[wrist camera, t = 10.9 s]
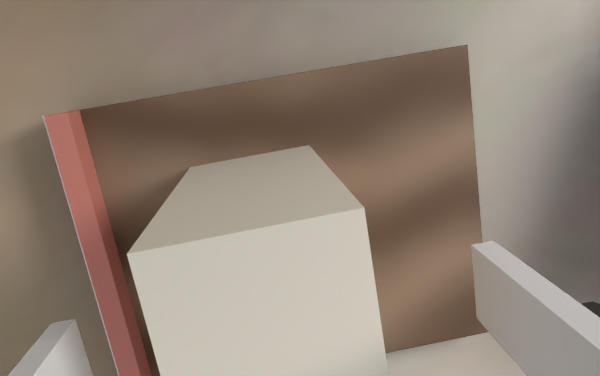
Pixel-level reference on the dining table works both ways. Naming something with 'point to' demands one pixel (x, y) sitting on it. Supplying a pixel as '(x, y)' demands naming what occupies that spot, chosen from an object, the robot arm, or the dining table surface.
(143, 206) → the shelf board
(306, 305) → the carton
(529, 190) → the dining table surface
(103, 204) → the rail
